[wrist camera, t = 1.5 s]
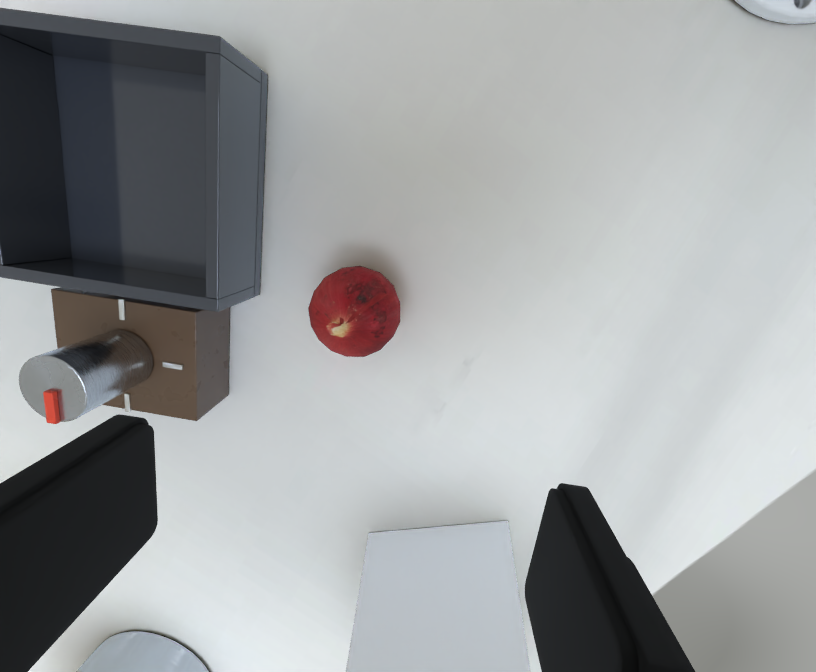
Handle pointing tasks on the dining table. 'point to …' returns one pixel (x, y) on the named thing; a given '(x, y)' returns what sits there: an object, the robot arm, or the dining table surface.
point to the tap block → (156, 348)
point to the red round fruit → (355, 311)
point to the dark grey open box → (130, 160)
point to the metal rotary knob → (84, 374)
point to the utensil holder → (141, 655)
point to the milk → (439, 602)
